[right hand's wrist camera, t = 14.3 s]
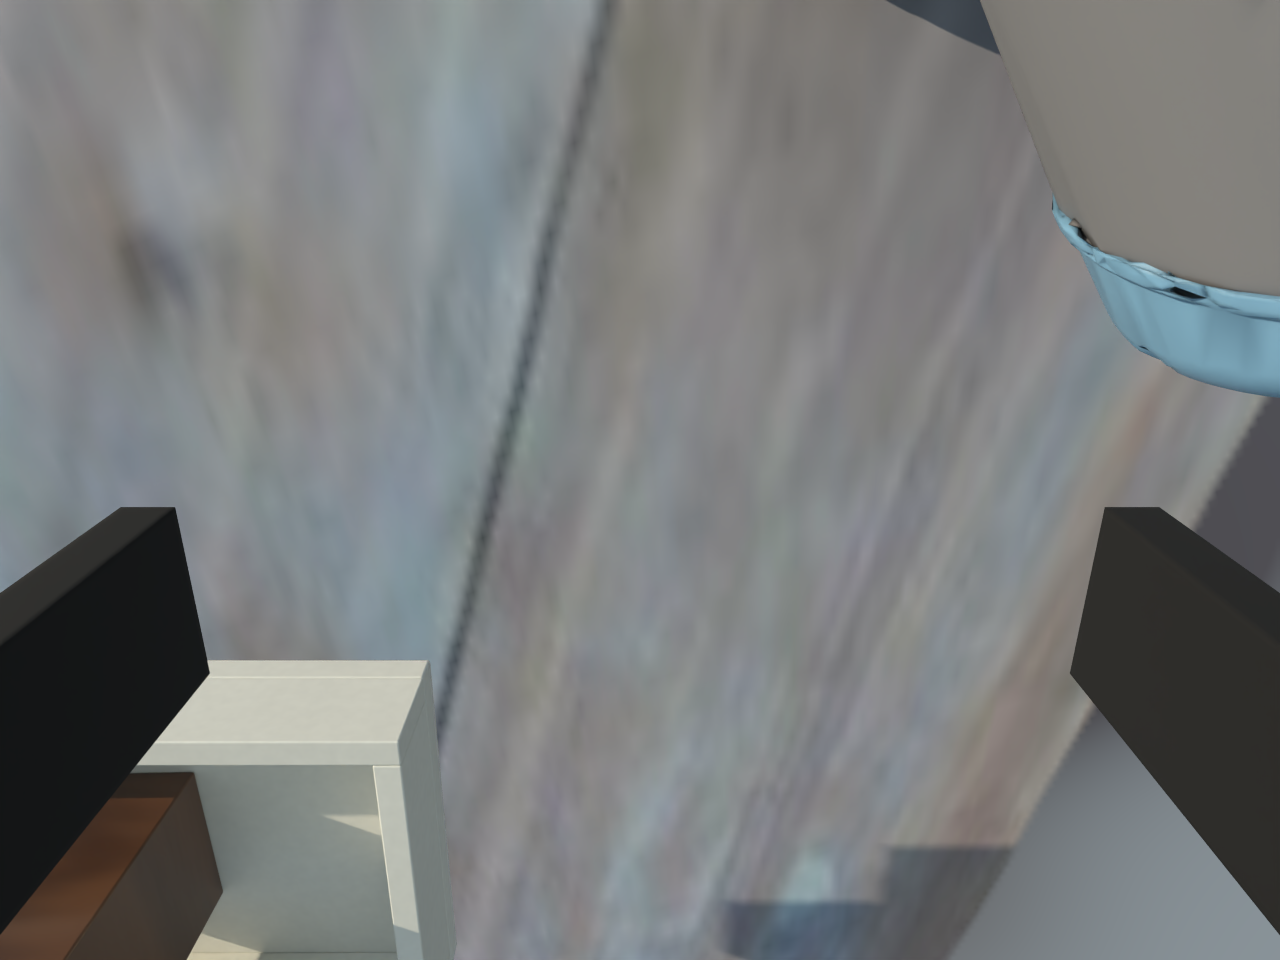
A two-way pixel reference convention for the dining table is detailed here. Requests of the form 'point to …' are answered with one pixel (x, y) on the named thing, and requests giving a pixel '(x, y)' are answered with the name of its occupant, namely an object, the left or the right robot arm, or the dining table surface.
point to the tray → (318, 809)
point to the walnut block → (126, 881)
